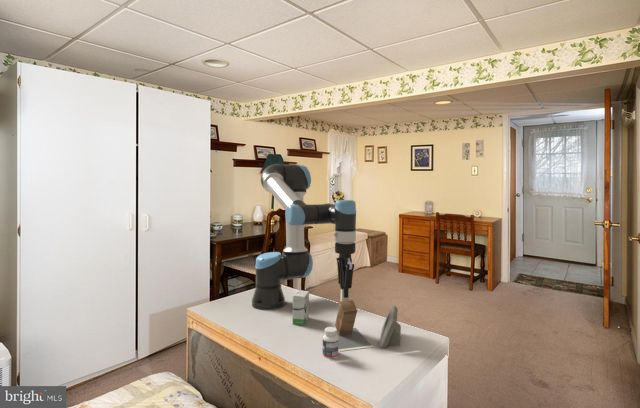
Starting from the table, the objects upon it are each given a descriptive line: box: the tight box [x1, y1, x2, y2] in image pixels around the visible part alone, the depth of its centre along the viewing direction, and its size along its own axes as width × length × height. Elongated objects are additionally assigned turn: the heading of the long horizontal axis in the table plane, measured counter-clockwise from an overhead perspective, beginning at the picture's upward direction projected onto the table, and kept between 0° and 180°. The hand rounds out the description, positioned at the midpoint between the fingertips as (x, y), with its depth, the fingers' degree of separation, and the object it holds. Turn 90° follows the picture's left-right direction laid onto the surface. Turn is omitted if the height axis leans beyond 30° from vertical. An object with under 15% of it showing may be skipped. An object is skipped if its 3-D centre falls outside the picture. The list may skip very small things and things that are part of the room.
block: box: [334, 300, 358, 335], centre depth 132 cm, size 5×5×12 cm
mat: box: [337, 327, 374, 352], centre depth 129 cm, size 17×12×1 cm
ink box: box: [292, 289, 310, 326], centre depth 145 cm, size 9×5×12 cm, turn 168°
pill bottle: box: [322, 326, 340, 359], centre depth 117 cm, size 5×5×9 cm
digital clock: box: [379, 305, 402, 349], centre depth 129 cm, size 16×9×11 cm, turn 155°
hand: (344, 305), depth 133 cm, fingers closed
